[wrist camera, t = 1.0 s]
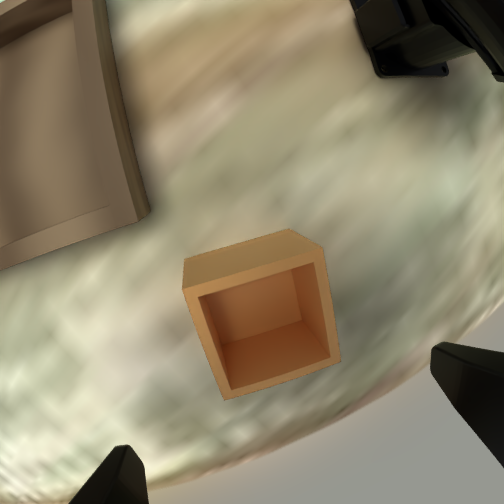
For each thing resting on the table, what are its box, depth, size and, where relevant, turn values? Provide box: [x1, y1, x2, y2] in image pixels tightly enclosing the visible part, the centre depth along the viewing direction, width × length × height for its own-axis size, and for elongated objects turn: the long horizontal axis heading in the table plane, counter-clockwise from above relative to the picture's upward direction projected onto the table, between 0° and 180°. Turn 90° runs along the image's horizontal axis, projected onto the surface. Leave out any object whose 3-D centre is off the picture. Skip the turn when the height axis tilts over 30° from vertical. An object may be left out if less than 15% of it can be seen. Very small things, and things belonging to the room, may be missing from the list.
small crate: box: [182, 229, 341, 400], centre depth 16 cm, size 6×6×5 cm
